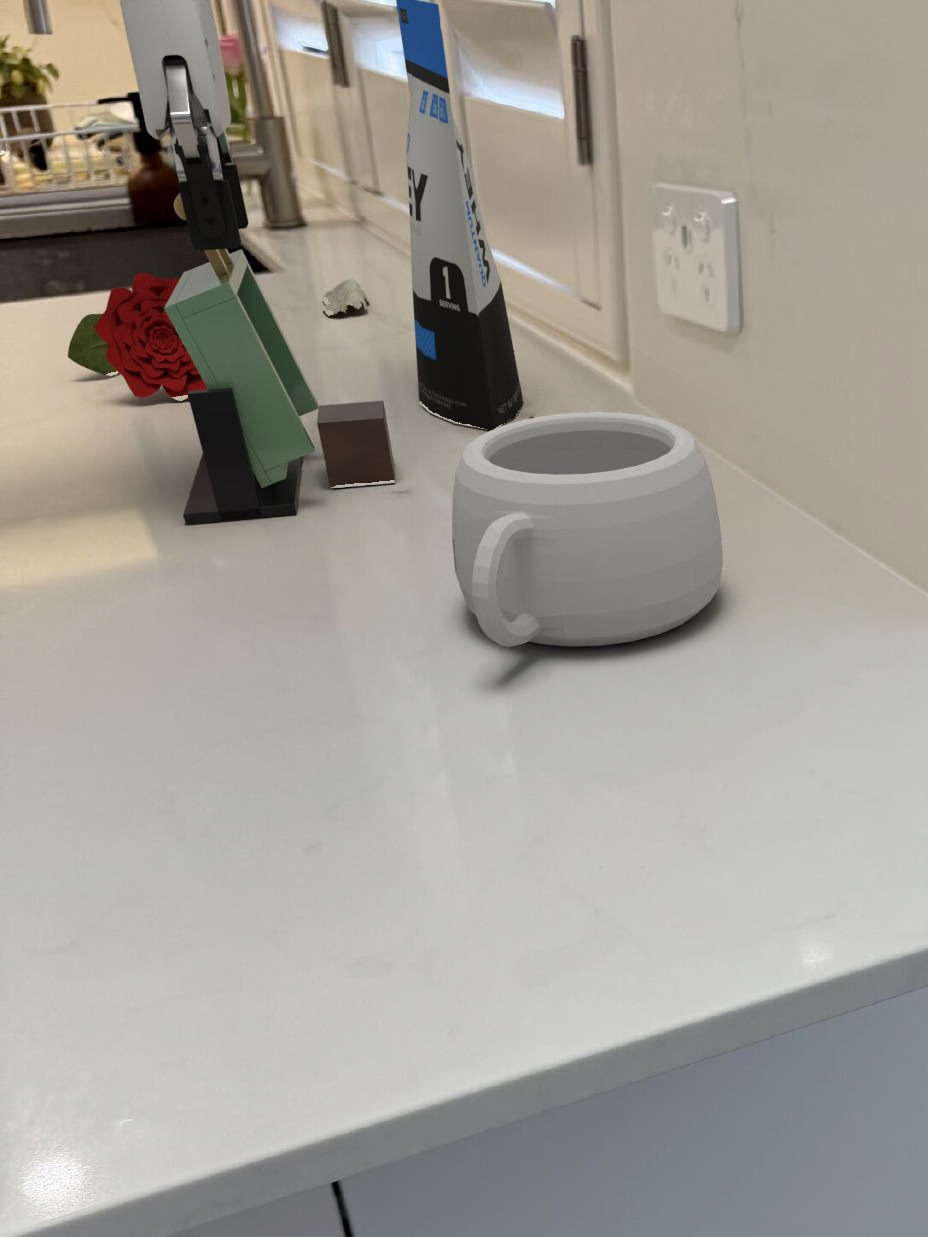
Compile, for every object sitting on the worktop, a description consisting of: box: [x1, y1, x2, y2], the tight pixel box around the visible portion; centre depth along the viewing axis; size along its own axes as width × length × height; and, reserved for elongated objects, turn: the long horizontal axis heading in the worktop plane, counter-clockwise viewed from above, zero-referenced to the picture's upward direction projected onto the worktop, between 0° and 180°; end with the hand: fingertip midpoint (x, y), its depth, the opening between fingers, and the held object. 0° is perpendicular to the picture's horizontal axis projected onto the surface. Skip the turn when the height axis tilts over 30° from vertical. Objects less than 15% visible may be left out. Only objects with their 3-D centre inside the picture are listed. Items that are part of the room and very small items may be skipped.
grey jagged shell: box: [322, 278, 370, 315], centre depth 158 cm, size 12×5×4 cm
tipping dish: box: [164, 192, 320, 488], centre depth 99 cm, size 18×13×5 cm
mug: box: [451, 411, 724, 648], centre depth 81 cm, size 21×17×10 cm
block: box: [316, 400, 396, 488], centre depth 106 cm, size 5×5×5 cm
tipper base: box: [182, 388, 304, 526], centre depth 103 cm, size 8×16×9 cm, turn 13°
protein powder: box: [395, 0, 524, 431], centre depth 116 cm, size 10×24×30 cm, turn 19°
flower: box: [67, 271, 208, 399], centre depth 136 cm, size 16×11×30 cm
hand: (222, 237), depth 96 cm, fingers closed on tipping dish, 7 cm apart
